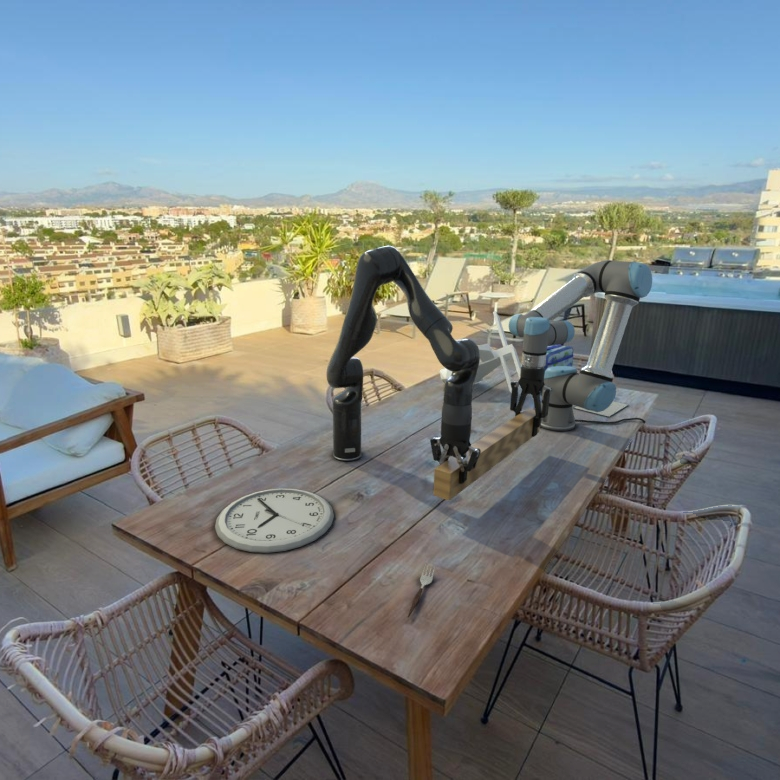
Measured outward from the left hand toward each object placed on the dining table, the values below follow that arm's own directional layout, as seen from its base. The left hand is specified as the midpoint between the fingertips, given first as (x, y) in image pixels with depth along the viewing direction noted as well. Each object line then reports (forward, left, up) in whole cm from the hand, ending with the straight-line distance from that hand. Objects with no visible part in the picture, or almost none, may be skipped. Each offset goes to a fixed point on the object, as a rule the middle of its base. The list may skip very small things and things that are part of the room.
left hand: (452, 479), depth 136 cm
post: (-12, +21, -3) cm, 25 cm away
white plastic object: (-90, +66, -10) cm, 112 cm away
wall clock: (-15, -44, -10) cm, 47 cm away
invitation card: (-54, +105, -10) cm, 118 cm away
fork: (+26, -22, -10) cm, 35 cm away
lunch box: (-83, +101, -10) cm, 131 cm away
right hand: (-24, +42, -2) cm, 49 cm away
